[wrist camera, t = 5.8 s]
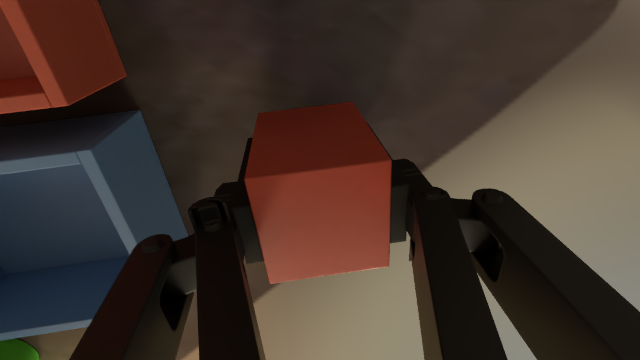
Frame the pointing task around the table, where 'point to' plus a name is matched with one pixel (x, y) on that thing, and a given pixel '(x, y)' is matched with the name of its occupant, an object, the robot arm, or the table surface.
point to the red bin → (54, 53)
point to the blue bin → (74, 216)
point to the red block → (319, 192)
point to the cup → (17, 350)
